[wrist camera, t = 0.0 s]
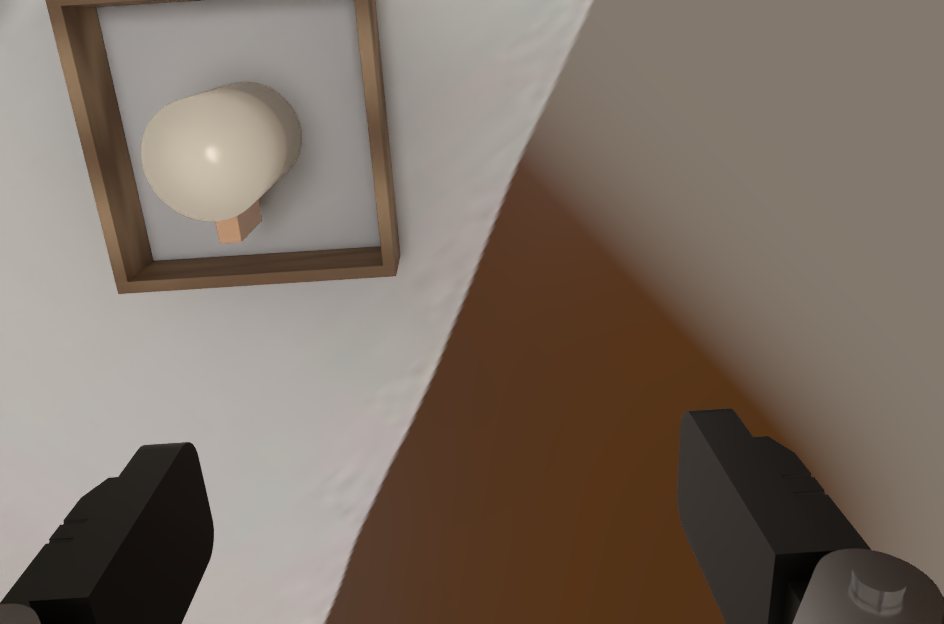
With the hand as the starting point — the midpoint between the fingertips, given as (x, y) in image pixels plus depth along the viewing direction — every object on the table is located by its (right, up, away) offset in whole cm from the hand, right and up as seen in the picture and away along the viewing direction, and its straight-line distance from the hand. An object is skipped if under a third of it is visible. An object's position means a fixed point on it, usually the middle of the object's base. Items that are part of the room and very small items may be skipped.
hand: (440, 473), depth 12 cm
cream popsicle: (-11, +12, +27) cm, 31 cm away
